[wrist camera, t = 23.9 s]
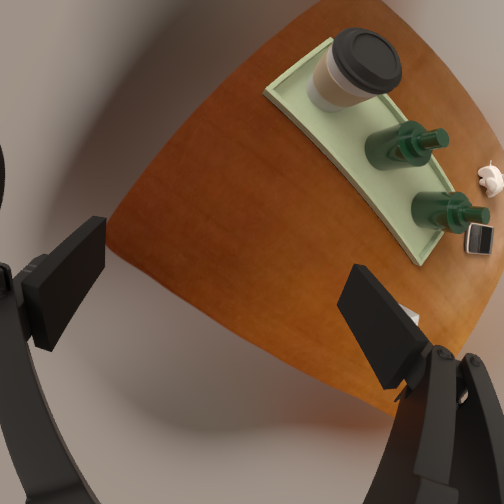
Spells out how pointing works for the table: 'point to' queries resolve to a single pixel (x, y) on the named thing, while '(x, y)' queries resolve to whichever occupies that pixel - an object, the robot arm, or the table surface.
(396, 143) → the bottle mid
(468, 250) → the cell phone
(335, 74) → the coffee cup
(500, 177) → the elephant figurine
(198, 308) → the table surface
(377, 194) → the tray
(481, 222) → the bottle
